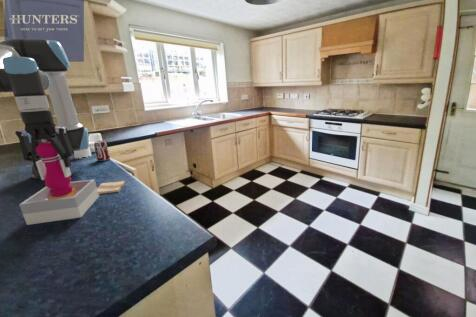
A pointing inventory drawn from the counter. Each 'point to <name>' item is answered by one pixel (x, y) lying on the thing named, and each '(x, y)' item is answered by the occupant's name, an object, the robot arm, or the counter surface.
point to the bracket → (91, 148)
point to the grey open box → (59, 204)
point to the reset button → (64, 195)
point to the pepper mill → (53, 169)
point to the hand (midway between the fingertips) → (56, 177)
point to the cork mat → (110, 187)
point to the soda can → (101, 150)
